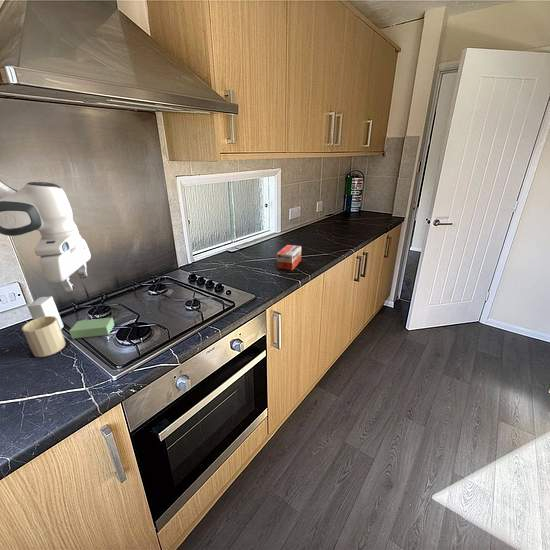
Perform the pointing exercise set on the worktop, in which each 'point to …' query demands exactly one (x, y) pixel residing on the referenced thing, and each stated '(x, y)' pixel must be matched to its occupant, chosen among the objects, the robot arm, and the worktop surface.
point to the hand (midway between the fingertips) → (77, 283)
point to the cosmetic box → (44, 309)
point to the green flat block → (92, 328)
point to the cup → (44, 336)
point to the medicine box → (289, 257)
